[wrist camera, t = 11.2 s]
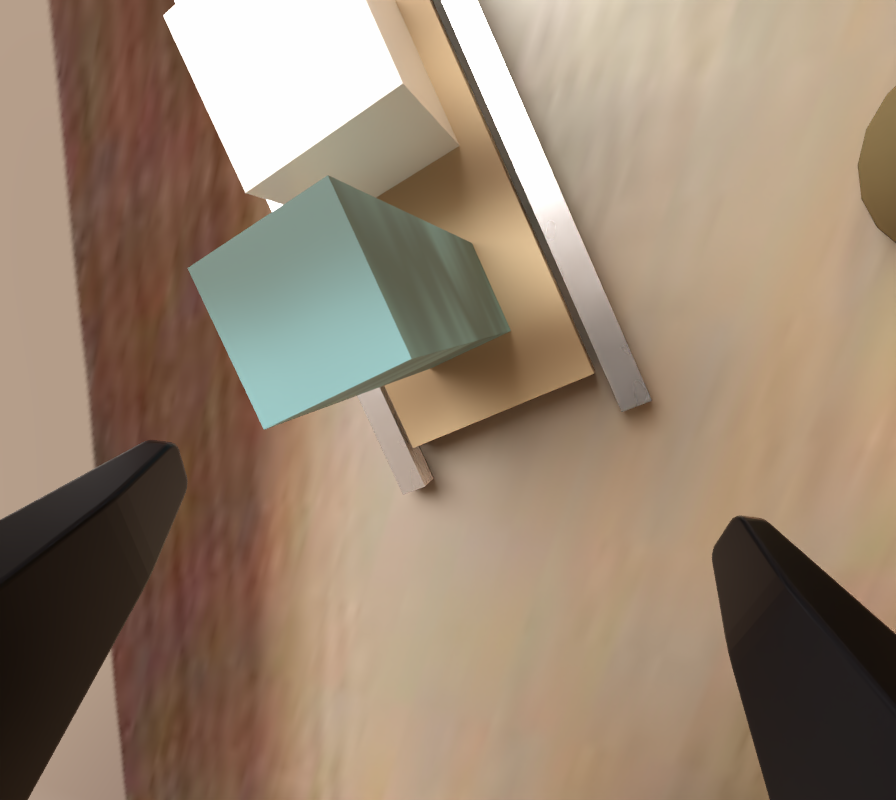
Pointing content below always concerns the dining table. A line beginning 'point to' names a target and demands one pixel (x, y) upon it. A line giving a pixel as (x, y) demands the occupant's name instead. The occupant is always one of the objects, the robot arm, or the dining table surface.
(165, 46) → the dining table surface
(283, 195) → the cube
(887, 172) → the cork
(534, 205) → the lane rails
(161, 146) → the dining table surface
